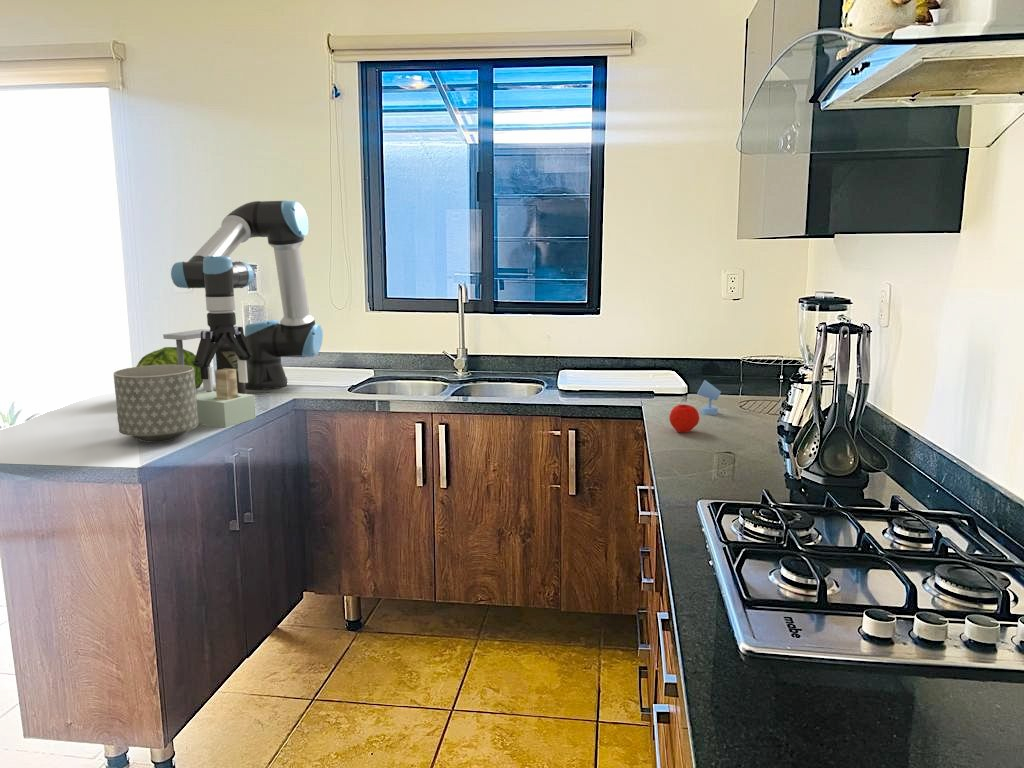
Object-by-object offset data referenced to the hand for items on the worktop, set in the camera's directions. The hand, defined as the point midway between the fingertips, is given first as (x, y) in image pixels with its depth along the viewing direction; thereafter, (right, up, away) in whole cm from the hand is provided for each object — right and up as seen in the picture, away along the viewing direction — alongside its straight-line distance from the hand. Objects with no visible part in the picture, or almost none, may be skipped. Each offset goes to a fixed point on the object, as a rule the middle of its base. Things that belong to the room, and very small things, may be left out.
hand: (226, 386), depth 222 cm
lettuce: (-30, -5, +31) cm, 44 cm away
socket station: (-4, -10, +4) cm, 11 cm away
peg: (0, -9, +2) cm, 9 cm away
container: (-7, -6, +24) cm, 26 cm away
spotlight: (+139, -8, +9) cm, 140 cm away
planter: (-11, -14, -17) cm, 24 cm away
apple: (+127, -12, -13) cm, 129 cm away
